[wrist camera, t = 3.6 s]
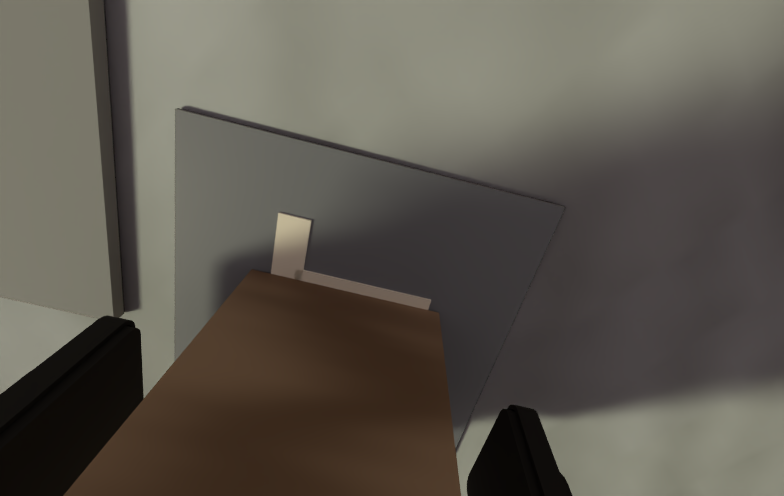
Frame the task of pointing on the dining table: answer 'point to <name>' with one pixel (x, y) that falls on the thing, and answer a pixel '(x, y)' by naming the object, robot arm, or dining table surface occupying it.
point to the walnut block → (292, 403)
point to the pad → (57, 159)
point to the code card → (353, 237)
